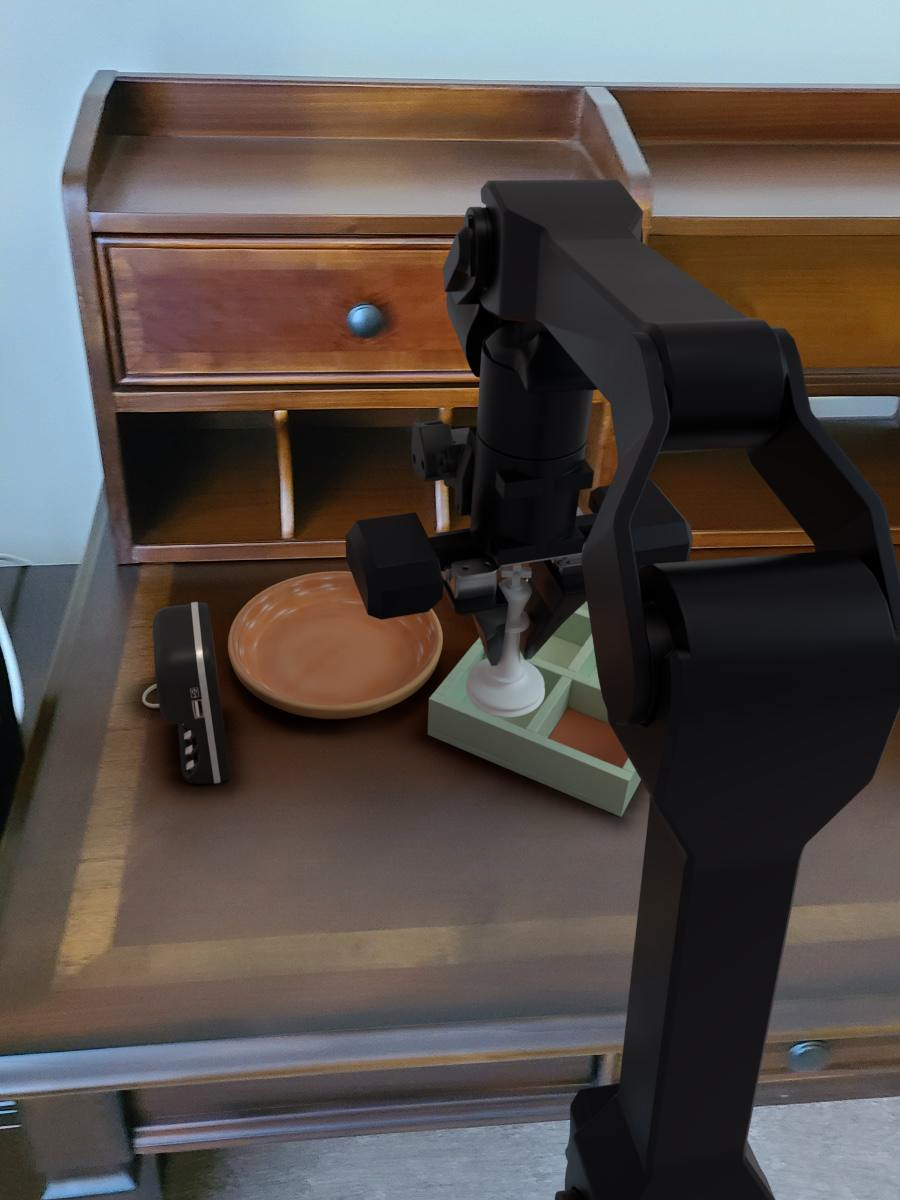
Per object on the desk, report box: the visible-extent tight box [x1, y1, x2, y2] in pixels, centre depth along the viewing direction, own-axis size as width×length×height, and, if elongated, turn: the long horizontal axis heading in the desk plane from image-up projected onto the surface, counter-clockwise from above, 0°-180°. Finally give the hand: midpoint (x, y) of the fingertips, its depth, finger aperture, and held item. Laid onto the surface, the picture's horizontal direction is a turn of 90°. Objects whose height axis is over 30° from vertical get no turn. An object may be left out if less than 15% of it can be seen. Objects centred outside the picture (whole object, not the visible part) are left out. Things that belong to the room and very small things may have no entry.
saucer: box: [227, 570, 444, 720], centre depth 81 cm, size 16×16×3 cm
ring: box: [141, 683, 160, 709], centre depth 78 cm, size 3×1×3 cm
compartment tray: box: [427, 578, 642, 818], centre depth 80 cm, size 22×15×4 cm
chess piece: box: [465, 564, 545, 717], centre depth 63 cm, size 5×5×10 cm
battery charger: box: [152, 601, 231, 785], centre depth 70 cm, size 7×4×11 cm, turn 14°
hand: (508, 658), depth 65 cm, fingers closed on chess piece
